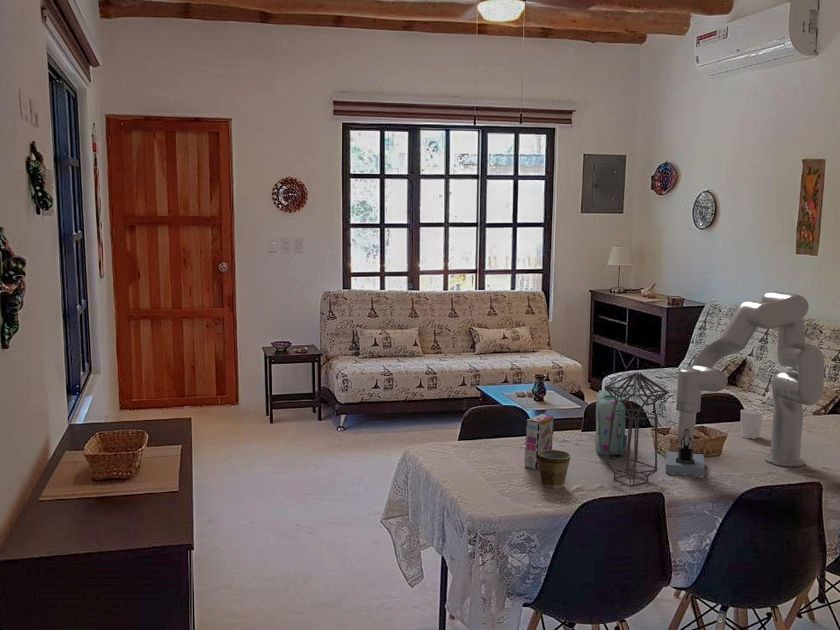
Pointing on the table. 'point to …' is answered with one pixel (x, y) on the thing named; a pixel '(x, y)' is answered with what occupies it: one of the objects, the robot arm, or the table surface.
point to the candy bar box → (538, 438)
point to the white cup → (751, 423)
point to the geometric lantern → (643, 379)
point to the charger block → (680, 455)
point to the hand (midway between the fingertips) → (685, 456)
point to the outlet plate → (685, 465)
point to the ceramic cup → (553, 467)
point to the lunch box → (603, 425)
